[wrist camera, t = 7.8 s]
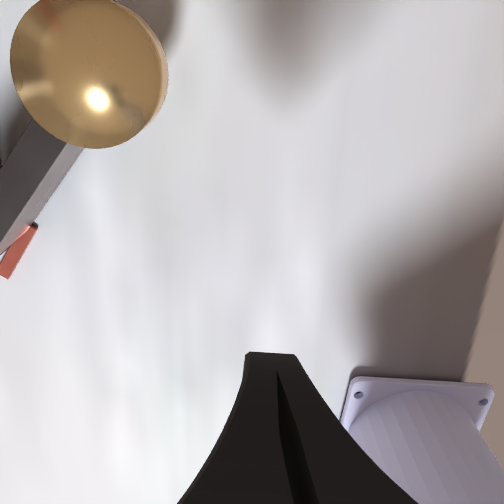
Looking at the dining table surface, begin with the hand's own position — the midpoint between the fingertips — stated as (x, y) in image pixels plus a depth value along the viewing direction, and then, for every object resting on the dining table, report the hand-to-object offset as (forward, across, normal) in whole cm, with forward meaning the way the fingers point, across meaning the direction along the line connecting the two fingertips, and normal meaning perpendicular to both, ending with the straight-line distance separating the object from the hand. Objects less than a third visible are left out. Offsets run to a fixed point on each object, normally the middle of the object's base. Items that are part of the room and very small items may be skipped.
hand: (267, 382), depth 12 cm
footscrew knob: (+9, +8, -5) cm, 13 cm away
